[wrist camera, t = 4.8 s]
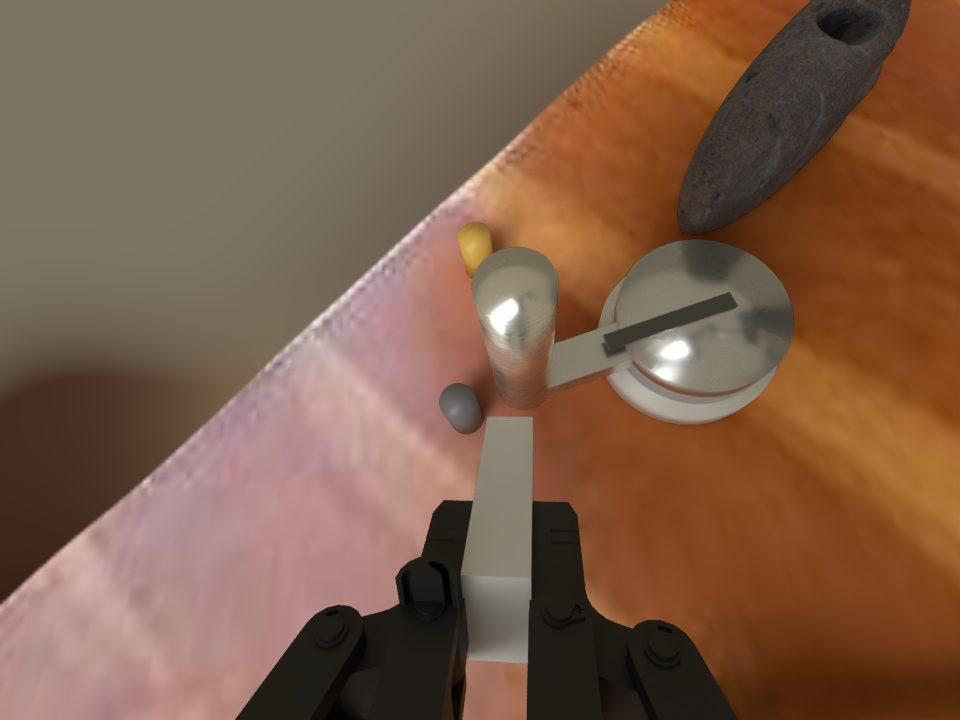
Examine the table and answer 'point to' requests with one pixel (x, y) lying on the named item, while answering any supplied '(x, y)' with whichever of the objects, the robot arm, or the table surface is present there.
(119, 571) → the table surface
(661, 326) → the dial lever
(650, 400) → the shiny assorted pieces
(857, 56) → the perforated stone tool
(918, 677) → the table surface
